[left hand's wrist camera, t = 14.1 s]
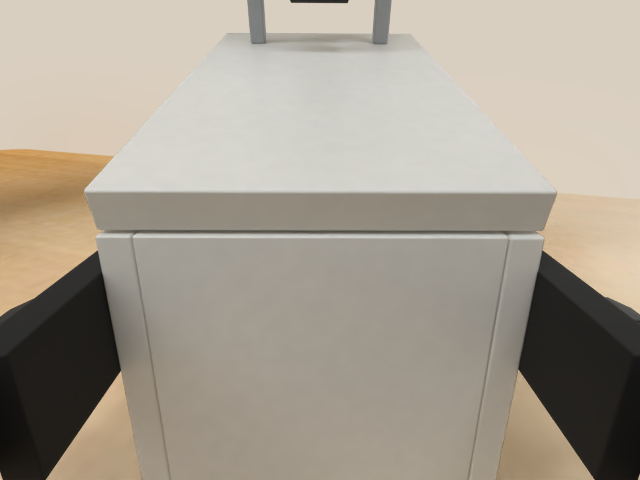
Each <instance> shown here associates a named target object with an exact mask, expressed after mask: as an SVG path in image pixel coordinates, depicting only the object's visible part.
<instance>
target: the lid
mask: <svg viewBox="0 0 640 480" xmlns="http://www.w3.org/2000/svg"><path fill="white" fill-rule="evenodd" d="M247 2H248V14H249V26H250V33H227V34H226V35H225V36H224V37H223V38H222V40H221V41H220V42H219V43H218V44H217V45H216V46H215V47H214V48H213V49H212V50H211V51H210V53H209V54H208V55H207V56H206V57H205V58H204V59H203V60H202V61H201V62H200V64H199V65H198V66H197V67H196V68H195V69H194V70H193V71H192V72H191V73H190V75H189V76H188V77H187V78H186V79H185V80H184V81H183V82H182V83H181V84H180V85H179V87H178V88H177V89H176V90H175V91H174V92H173V93H172V94H171V95H170V96H169V97H168V99H167V100H166V101H165V102H164V103H163V104H162V105H161V106H160V107H159V108H158V109H157V111H156V112H155V113H154V114H153V115H152V116H151V117H150V118H149V119H148V120H147V121H146V123H145V124H144V125H143V126H142V127H141V128H140V129H139V130H138V131H137V132H136V134H135V135H134V136H133V137H132V138H131V139H130V140H129V141H128V142H127V143H126V144H125V146H124V147H123V148H122V149H121V150H120V151H119V152H118V153H117V154H116V155H115V156H114V158H113V159H112V160H111V161H110V162H109V163H108V164H107V165H106V166H105V167H104V168H103V170H102V171H101V172H100V173H99V174H98V175H97V176H96V177H95V178H94V179H93V181H92V182H91V183H90V184H89V185H88V186H87V187H86V188H85V189H84V194H85V197H86V199H87V202H88V205H89V208H90V210H91V213H92V216H93V219H94V222H95V224H96V227H97V229H99V230H381V231H542V230H543V229H544V227H545V224H546V222H547V219H548V217H549V214H550V211H551V209H552V206H553V203H554V201H555V198H556V195H557V191H556V189H555V188H554V187H553V186H552V185H551V184H550V183H549V182H548V181H547V180H546V179H545V178H544V177H543V176H542V174H541V173H540V172H539V171H538V170H537V169H536V168H535V167H534V166H533V165H532V164H531V163H530V162H529V161H528V159H527V158H526V157H525V156H524V155H523V154H522V153H521V152H520V151H519V150H518V149H517V148H516V147H515V145H514V144H513V143H512V142H511V141H510V140H509V139H508V138H507V137H506V136H505V135H504V134H503V133H502V132H501V130H500V129H499V128H498V127H497V126H496V125H495V124H494V123H493V122H492V121H491V120H490V119H489V118H488V117H487V116H486V114H485V113H484V112H483V111H482V110H481V109H480V108H479V107H478V106H477V105H476V104H475V103H474V102H473V100H472V99H471V98H470V97H469V96H468V95H467V94H466V93H465V92H464V91H463V90H462V89H461V88H460V86H459V85H458V84H457V83H456V82H455V81H454V80H453V79H452V78H451V77H450V76H449V75H448V74H447V73H446V72H445V70H444V69H443V68H442V67H441V66H440V65H439V64H438V63H437V62H436V61H435V60H434V59H433V58H432V56H431V55H430V54H429V53H428V52H427V51H426V50H425V49H424V48H423V47H422V46H421V45H420V44H419V43H418V41H417V40H416V39H415V38H414V37H413V36H412V35H411V34H388V32H389V22H390V10H391V0H375V8H374V22H373V34H317V33H316V34H315V33H266V28H265V12H264V0H247Z"/></svg>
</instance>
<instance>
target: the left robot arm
mask: <svg viewBox="0 0 640 480" xmlns="http://www.w3.org/2000/svg"><path fill="white" fill-rule="evenodd" d="M518 369H519V371H520V372H521V374H522V375H523V376H524V378H525V379H526V381H527V382H528V384H529V385H530V387H531V388H532V389H533V391H534V392H535V394H536V395H537V397H538V398H539V400H540V401H541V403H542V404H543V405H544V407H545V408H546V410H547V411H548V413H549V414H550V416H551V417H552V418H553V420H554V421H555V423H556V424H557V426H558V427H559V429H560V430H561V431H562V433H563V434H564V436H565V437H566V439H567V440H568V442H569V443H570V445H571V446H572V447H573V449H574V450H575V452H576V453H577V455H578V456H579V458H580V459H581V460H582V462H583V463H584V465H585V466H586V468H587V469H588V471H589V472H590V474H591V475H592V476H593V478H594V479H595V480H638V477H639V474H640V314H638V313H637V312H636V311H634V310H633V309H631V308H630V307H627V306H625V305H623V304H621V303H619V302H616V301H614V300H612V299H610V298H608V297H603V296H602V295H601V294H599V293H598V292H597V291H596V290H594V289H593V288H592V287H590V286H589V285H588V284H586V283H585V282H584V281H582V280H581V279H580V278H578V277H577V276H576V275H574V274H573V273H572V272H570V271H569V270H568V269H566V268H565V267H564V266H562V265H561V264H560V263H559V262H557V261H556V260H555V259H553V258H552V257H551V256H549V255H548V254H547V253H545V252H544V251H543V250H542V254H541V259H540V264H539V269H538V272H537V277H536V282H535V287H534V293H533V298H532V303H531V308H530V313H529V318H528V323H527V328H526V333H525V338H524V343H523V348H522V353H521V358H520V363H519V368H518ZM120 371H121V368H120V363H119V357H118V352H117V347H116V342H115V337H114V331H113V326H112V321H111V316H110V311H109V305H108V300H107V295H106V290H105V285H104V279H103V274H102V269H101V264H100V258H99V253H98V251H96V252H95V253H94V254H92V255H91V256H90V257H88V258H87V259H86V260H85V261H83V262H82V263H81V264H79V265H78V266H77V267H75V268H74V269H73V270H71V271H70V272H69V273H67V274H66V275H65V276H63V277H62V278H61V279H59V280H58V281H57V282H55V283H54V284H53V285H52V286H50V287H49V288H48V289H46V290H45V291H44V292H42V293H41V294H40V295H38V296H37V297H36V298H34V299H32V300H30V301H28V302H25V303H23V304H21V305H19V306H17V307H15V308H12V309H10V310H9V311H8V312H6V313H5V314H3V315H2V316H1V317H0V473H1V476H2V478H3V480H46V478H47V477H48V476H49V474H50V473H51V471H52V470H53V468H54V467H55V465H56V464H57V463H58V461H59V460H60V458H61V457H62V455H63V454H64V452H65V451H66V449H67V448H68V447H69V445H70V444H71V442H72V441H73V439H74V438H75V436H76V435H77V434H78V432H79V431H80V429H81V428H82V426H83V425H84V423H85V422H86V420H87V419H88V418H89V416H90V415H91V413H92V412H93V410H94V409H95V407H96V406H97V405H98V403H99V402H100V400H101V399H102V397H103V396H104V394H105V393H106V391H107V390H108V389H109V387H110V386H111V384H112V383H113V381H114V380H115V378H116V377H117V376H118V374H119V373H120Z"/></svg>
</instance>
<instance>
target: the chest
mask: <svg viewBox="0 0 640 480" xmlns="http://www.w3.org/2000/svg"><path fill="white" fill-rule="evenodd" d="M96 243H97V248H98V253H99V258H100V264H101V269H102V274H103V279H104V285H105V290H106V295H107V300H108V305H109V311H110V316H111V321H112V326H113V331H114V337H115V342H116V347H117V352H118V357H119V363H120V368H121V373H122V378H123V383H124V389H125V394H126V399H127V404H128V409H129V415H130V420H131V425H132V430H133V436H134V441H135V446H136V451H137V456H138V462H139V467H140V472H141V477H142V480H496V477H497V473H498V468H499V463H500V458H501V453H502V448H503V443H504V438H505V433H506V428H507V423H508V418H509V413H510V408H511V403H512V398H513V393H514V388H515V383H516V378H517V373H518V368H519V363H520V358H521V353H522V348H523V343H524V338H525V333H526V328H527V323H528V318H529V313H530V308H531V303H532V298H533V293H534V287H535V282H536V277H537V272H538V269H539V264H540V259H541V254H542V249H543V244H544V237H543V236H541V235H540V234H539V233H537V232H536V231H381V230H104V231H103V232H101V233H100V234H98V235H97V236H96Z"/></svg>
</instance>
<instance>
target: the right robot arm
mask: <svg viewBox="0 0 640 480" xmlns="http://www.w3.org/2000/svg"><path fill="white" fill-rule="evenodd" d="M290 1H291V2H292V3H348V0H290Z"/></svg>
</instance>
